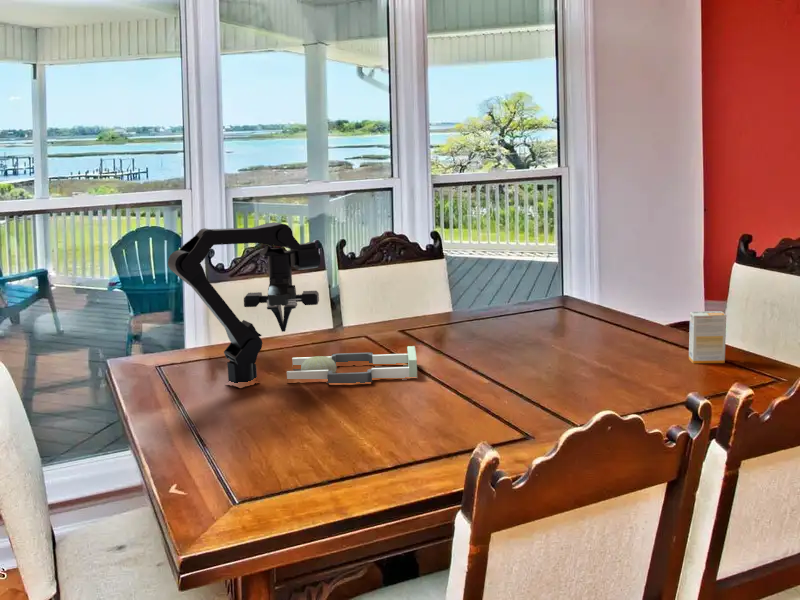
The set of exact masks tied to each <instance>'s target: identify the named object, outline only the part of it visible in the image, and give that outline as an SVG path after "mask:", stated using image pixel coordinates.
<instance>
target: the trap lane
mask: <svg viewBox="0 0 800 600" xmlns="http://www.w3.org/2000/svg"><path fill="white" fill-rule="evenodd" d="M311 357H312V356H306V357H292V358H291V359H292V366H293V365H302V363H303V362H304V361H305V360H306V359H308V358H311ZM326 357H328V358H331V359H332V360H333V361H334V362H335V363H336V362H348V361H369V363H373V364H396V363H408V353H390V354H389V353H388V354H386V353H385V354H373V352H372V351H371V352H370V351H369V352H348V353H347V352H345V353H332V354H331V356H329V355H328V356H326ZM405 377H409V367H408V366H388V367H371V368H369V369H367V371H361V372H360V371H359V372H358V371H357V372H354V371H353V372H335V373H332V371H329V370H306V371H301V370H287V371H286V380H287V379H328V382H327V384H328V383H356V382H360V383H365V382H372V383H373V381H372V378H405Z"/></svg>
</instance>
